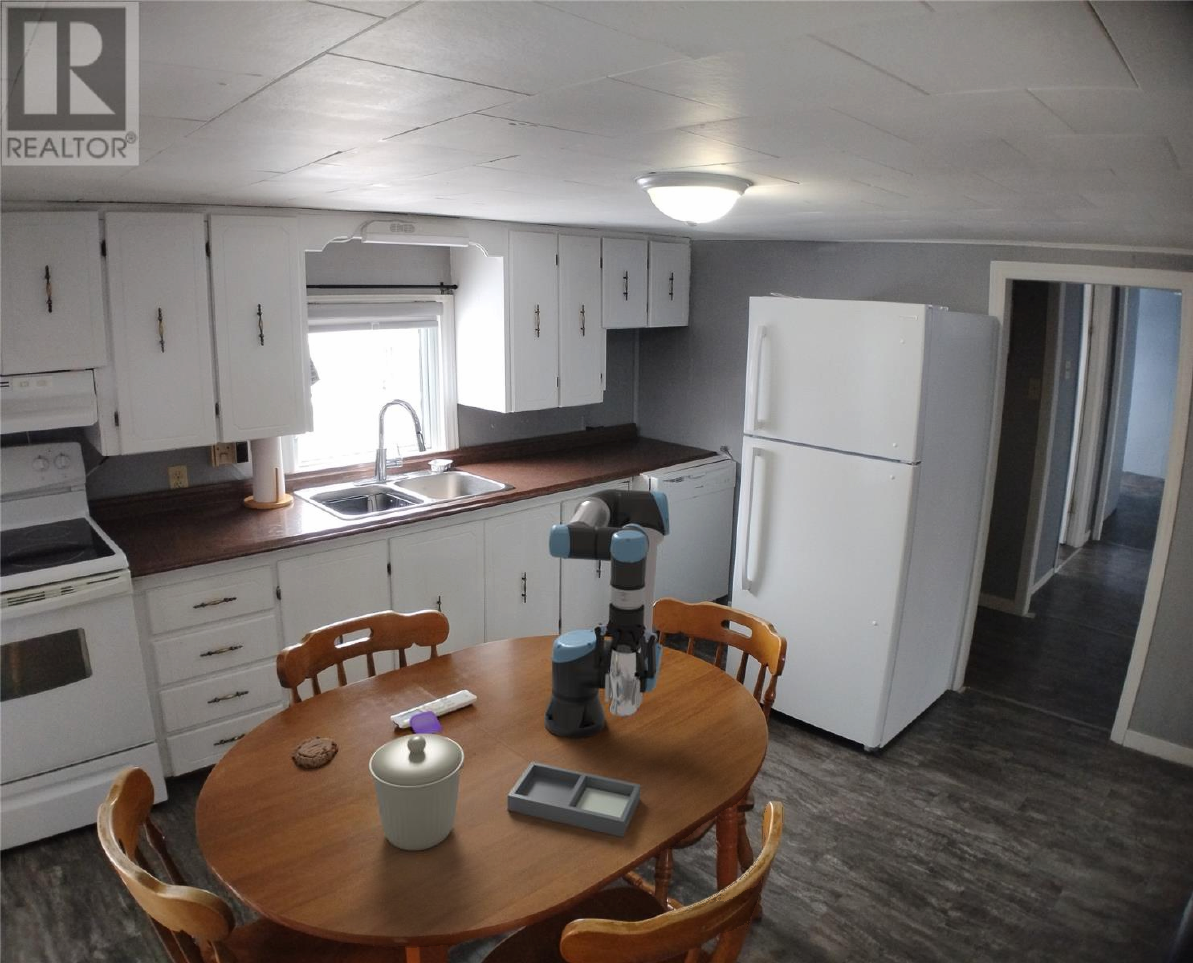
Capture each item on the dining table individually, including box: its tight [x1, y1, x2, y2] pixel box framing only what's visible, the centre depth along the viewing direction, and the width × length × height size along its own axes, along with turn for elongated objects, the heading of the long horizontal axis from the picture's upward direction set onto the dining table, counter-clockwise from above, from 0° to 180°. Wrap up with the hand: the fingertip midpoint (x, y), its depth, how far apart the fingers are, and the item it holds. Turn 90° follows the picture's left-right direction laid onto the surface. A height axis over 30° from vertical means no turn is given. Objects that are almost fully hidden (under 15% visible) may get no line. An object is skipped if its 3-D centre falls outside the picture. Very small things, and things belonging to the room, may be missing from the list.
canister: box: [368, 733, 465, 851], centre depth 157 cm, size 18×18×21 cm
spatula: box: [409, 710, 443, 734], centre depth 191 cm, size 24×7×2 cm, turn 33°
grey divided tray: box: [507, 761, 641, 838], centre depth 169 cm, size 25×13×4 cm, turn 72°
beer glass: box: [608, 645, 641, 718], centre depth 175 cm, size 7×7×15 cm
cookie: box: [291, 735, 339, 769], centre depth 185 cm, size 10×11×3 cm
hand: (623, 701), depth 177 cm, fingers closed on beer glass, 6 cm apart
